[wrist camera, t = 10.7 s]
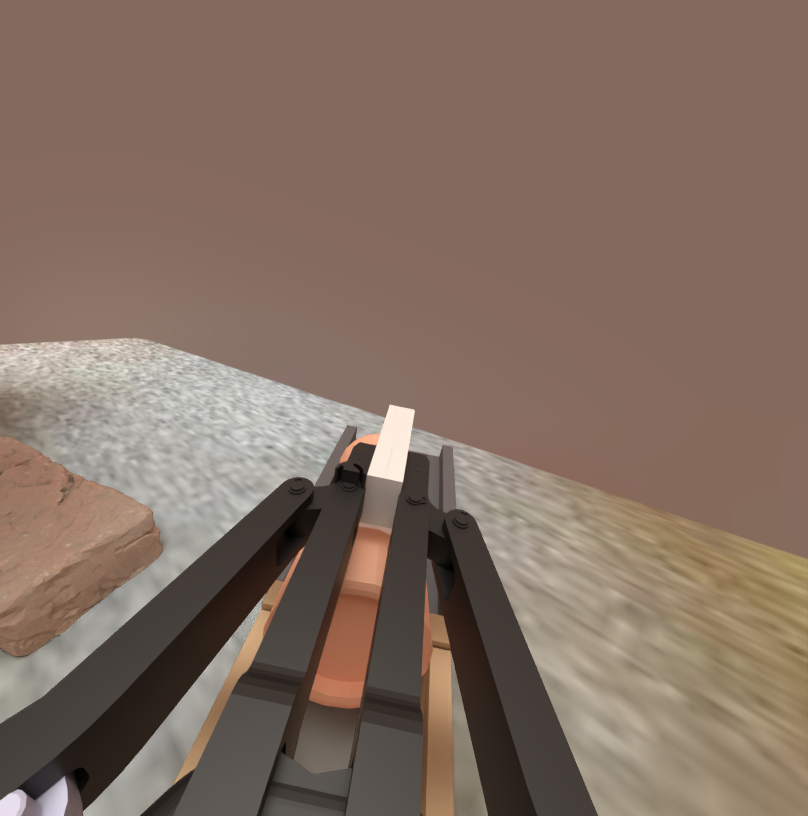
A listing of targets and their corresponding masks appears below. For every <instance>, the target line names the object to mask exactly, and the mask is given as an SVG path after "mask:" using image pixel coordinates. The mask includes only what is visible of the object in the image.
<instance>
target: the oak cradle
mask: <svg viewBox="0 0 808 816" xmlns="http://www.w3.org/2000/svg"><path fill="white" fill-rule="evenodd" d="M283 583H284V581H279V580H276V581H275V582H274V583H273V584H272V586H271V587H270V588H269V590H268V592H267V594H266V596H265V598H264V600H263V602H262V610H261V611H260V613H259V615H258V617H257V619H256V621H255V623H254V625H253V627H252V629H251V631H250V633H249V635H248V637H247V639H246V641H245V643H244V645H243V647H242V649H241V651H240V653H239V655H238V657H237V659H236V661H235V663H234V665H233V667H232V669H231V671H230V673H229V675H228V677H227V679H226V681H225V683H224V685H223V687H222V689H221V691H220V693H219V695H218V697H217V699H216V701H215V703H214V705H213V707H212V709H211V711H210V713H209V715H208V717H207V719H206V721H205V723H204V725H203V727H202V728H201V730H200V732H199V734H198V736H197V738H196V740H195V742H194V744H193V746H192V748H191V750H190V752H189V754H188V756H187V758H186V760H185V762H184V764H183V766H182V768H181V770H180V772H179V774H178V776H177V778H176V780H175V782H174V784H175V783H176V782H177V781H178V780H180V779H181V778H182V777H184V776H185V775H186V774H187V773H189V772H190V771H191V770H193V769H195V768H196V766H197V764H198V762H199V760H200V758H201V756H202V753H203V751H204V749H205V747H206V745H207V743H208V741H209V739H210V736H211V734H212V732H213V730H214V728H215V726H216V724H217V722H218V720H219V717H220V715H221V713H222V711H223V709H224V707H225V705H226V703H227V700H228V698H229V696H230V694H231V692H232V690H233V688H234V686H235V684H236V682H237V681H238V680H239V678H240V677H241V675H242V674H244V673H245V672H246V671H247V670H248V669H249V667H250V666H251V664H252V662H253V659H254V657H255V655H256V653H257V651H258V648H259V646H260V644H261V642H262V640H263V630H264V625H265V623H266V621H267V619H268V616H269V614H270V612H271V610H272V607H273V605H274V603H275V601H276V598H277V596H278V594H279V592H280V590H281V587H282V585H283ZM429 614H430V625H431V636H432V647H433V652H432V656H431V659H430V662H429V666H428V669H427V671H426V672H425V674H424V675H423V676H422V679H421V701H420V706H421V711H422V714H423V755H422V782H421V808H420V812H421V813H422V815H423V816H454V783H453V737H452V691H451V651H450V649H451V648H450V643H449V639H448V635H447V630H446V626H445V621H444V617H443V616H441V615H436V614H432V613H429ZM174 784H173V785H174Z"/></svg>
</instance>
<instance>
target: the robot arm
mask: <svg viewBox="0 0 808 816" xmlns="http://www.w3.org/2000/svg"><path fill="white" fill-rule="evenodd" d="M414 411H415V410H413V409H408V408H403V407H397V406H393V405H390V407H389V410H388V413H387V416H386V419H385V422H384V425H383V428H382V431H381V434H380V437H379V440H378V443H377V445H372V444H367V443H362V442H359V443H358V444H356V445H355V446H354V447H353V449H352V451H351V454H350V456H349V458H348V460H347V461H345V462H342V463H340V464H338V465H337V466H336V467H335V476H334V483H333V484H331V485H327V486H314V485H313V483H312V482H311V481H310V480H308V479H306V478H302V477H296V478H291V479H288V480H287V481H285V482H284V483H282V484H281V485H280V486H279V487H278V488H277V489H276V490H275V491H273V492H272V493H271V494H270V495H269V496H268V497H267V498H266V499H264V500H263V501H262V502H261V503H260V504H259V505H258V506H257V507H255V508H254V509H253V510H252V511H251V512H250V513H249V514H248V515H246V516H245V517H244V518H243V519H242V520H241V521H240V522H239V523H238V524H236V525H235V526H234V527H233V528H232V529H231V530H230V531H229V532H227V533H226V534H225V535H224V536H223V537H222V538H221V539H220V540H218V541H217V542H216V543H215V544H214V545H213V546H212V547H211V548H209V549H208V550H207V551H206V552H205V553H204V554H203V555H202V556H201V557H199V558H198V559H197V560H196V561H195V562H194V563H193V564H192V565H190V566H189V567H188V568H187V569H186V570H185V571H184V572H183V573H181V574H180V575H179V576H178V577H177V578H176V579H175V580H174V581H172V582H171V583H170V584H169V585H168V586H167V587H166V588H165V589H163V590H162V591H161V592H160V593H159V594H158V595H157V596H156V597H155V598H153V599H152V600H151V601H150V602H149V603H148V604H147V605H146V606H144V607H143V608H142V609H141V610H140V611H139V612H138V613H137V614H135V615H134V616H133V617H132V618H131V619H130V620H129V621H128V622H126V623H125V624H124V625H123V626H122V627H121V628H120V629H119V630H117V631H116V632H115V633H114V634H113V635H112V636H111V637H110V638H109V639H107V640H106V641H105V642H104V643H103V644H102V645H101V646H100V647H98V648H97V649H96V650H95V651H94V652H93V653H92V654H91V655H89V656H88V657H87V658H86V659H85V660H84V661H83V662H82V663H80V664H79V665H78V666H77V667H76V668H75V669H74V670H73V671H72V672H70V673H69V674H68V675H67V676H66V677H65V678H64V679H63V680H61V681H60V682H59V683H58V684H57V685H56V686H55V687H54V688H52V689H51V690H50V691H49V692H48V693H47V694H46V695H45V696H43V697H42V698H40V699H39V700H37V701H36V702H34V703H32V704H31V705H29V706H28V707H26V708H24V709H23V710H21V711H20V712H18V713H17V714H15V715H13V716H12V717H10V718H9V719H7V720H6V721H4V722H2V723H1V724H0V816H83V811H84V810H85V809H86V808H87V807H88V806H89V805H90V804H91V803H93V802H94V800H95V799H96V798H97V797H98V796H99V795H100V794H101V793H102V792H103V791H104V790H105V789H106V788H107V787H108V786H109V785H110V784H111V783H112V782H113V781H114V780H115V779H116V778H117V777H118V776H119V774H120V773H121V772H122V771H123V770H124V769H125V768H126V766H127V765H128V764H129V763H130V762H131V761H132V759H133V758H134V757H135V756H136V755H137V753H138V752H139V751H140V750H141V749H142V748H143V746H144V745H145V744H146V743H147V741H148V740H149V739H150V738H151V736H152V735H153V734H154V733H155V731H156V730H157V729H158V728H159V726H160V725H161V724H162V723H163V721H164V720H165V719H166V718H167V716H168V715H169V714H170V713H171V711H172V710H173V709H174V708H175V706H176V705H177V704H178V703H179V701H180V700H181V699H182V697H183V696H184V695H185V694H186V692H187V691H188V690H189V689H190V687H191V686H192V685H193V684H194V682H195V681H196V680H197V679H198V677H199V676H200V675H201V674H202V672H203V671H204V670H205V669H206V667H207V666H208V665H209V664H210V662H211V661H212V660H213V659H214V657H215V656H216V655H217V654H218V652H219V651H220V650H221V648H222V647H223V646H224V645H225V643H226V642H227V641H228V640H229V638H230V637H231V636H232V635H233V633H234V632H235V631H236V630H237V628H238V627H239V626H240V625H241V623H242V622H243V621H244V620H245V618H246V617H247V616H248V615H249V613H250V612H251V611H252V610H253V608H254V607H255V606H256V605H257V603H258V602H259V601H260V600H261V598H262V597H263V596H264V594H265V593H266V592H267V591H268V589H269V588H270V587H271V586H272V584H273V583H274V582H275V581H276V579H277V578H278V577H279V576H280V574H281V573H282V572H283V571H284V569H285V568H286V567H287V566H288V564H289V563H290V562H291V561H292V559H293V558H294V557H295V556H296V554H297V553H298V552H299V551H300V549H301V548H302V547H303V546H304V544H305V543H306V542H307V543H306V545H305V547H304V550H303V552H302V554H301V556H300V558H299V561H298V563H297V565H296V567H295V569H294V572H293V574H292V576H291V578H290V580H289V583H288V585H287V587H286V589H285V591H284V594H283V596H282V598H281V600H280V602H279V605H278V607H277V609H276V611H275V613H274V616H273V618H272V620H271V622H270V624H269V626H268V629H267V631H266V633H265V635H264V637H263V640H262V642H261V644H260V646H259V648H258V651H257V653H256V655H255V657H254V659H253V662H252V664H251V666H250V667H249V669H248V670H247V671H246V672H245V673H244V674H242V675H241V677H240V678H239V680H238V681H237V682H236V684H235V686H234V688H233V690H232V692H231V694H230V696H229V698H228V700H227V703H226V705H225V707H224V709H223V711H222V713H221V715H220V717H219V720H218V722H217V724H216V726H215V728H214V730H213V732H212V734H211V736H210V739H209V741H208V743H207V745H206V747H205V749H204V751H203V753H202V756H201V758H200V760H199V762H198V764H197V766H196V768H195V769H193V770H191V771H190V772H189V773H187V774H186V775H185V776H184V777H182V778H181V779H180V780H178V781H177V782H176V783H175V784H174V785H173V786H172V787H170V788H169V789H168V790H167V791H166V792H165V793H164V794H163V795H162V796H161V797H160V798H159V799H157V800H156V801H155V802H154V803H153V804H152V805H151V806H150V807H149V808H148V809H147V810H146V811H145V812H143V813H142V814H141V815H140V816H423V815H422V813H421V812H420V808H421V782H422V755H423V714H422V711H421V706H420V697H421V676H422V655H423V634H424V613H425V592H426V571H427V558H428V559H429V560H431V562H432V568H433V573H434V577H435V581H436V586H437V590H438V595H439V599H440V604H441V608H442V612H443V617H444V621H445V626H446V630H447V635H448V639H449V643H450V648H451V652H452V657H453V661H454V665H455V670H456V674H457V679H458V683H459V688H460V692H461V696H462V701H463V705H464V710H465V714H466V719H467V723H468V727H469V732H470V736H471V741H472V745H473V750H474V754H475V758H476V763H477V767H478V772H479V776H480V780H481V785H482V789H483V794H484V798H485V803H486V807H487V811H488V816H598V815H597V812H596V810H595V807H594V805H593V803H592V800H591V798H590V795H589V793H588V790H587V788H586V786H585V783H584V781H583V778H582V776H581V774H580V771H579V769H578V766H577V764H576V761H575V759H574V757H573V754H572V752H571V749H570V747H569V745H568V742H567V740H566V737H565V735H564V733H563V730H562V728H561V725H560V723H559V720H558V718H557V716H556V713H555V711H554V708H553V706H552V704H551V701H550V699H549V696H548V694H547V691H546V689H545V687H544V684H543V682H542V679H541V677H540V675H539V672H538V670H537V667H536V665H535V663H534V660H533V658H532V655H531V653H530V650H529V648H528V646H527V643H526V641H525V638H524V636H523V634H522V631H521V629H520V626H519V624H518V621H517V619H516V617H515V614H514V612H513V609H512V607H511V605H510V602H509V600H508V597H507V595H506V593H505V590H504V588H503V585H502V583H501V580H500V578H499V576H498V573H497V571H496V568H495V566H494V564H493V561H492V559H491V556H490V554H489V551H488V549H487V547H486V544H485V542H484V539H483V537H482V535H481V532H480V530H479V527H478V525H477V523H476V521H475V519H474V518H473V517H472V516H471V515H470V514H469V513H467V512H465V511H463V510H458V509H454V510H450V511H449V512H447V513H445V512H443V511H441V510H439V509H437V508H436V507H435V506H434V505H432V503H431V502H430V500H429V498H428V486H429V467H430V461H429V459H428V458H427V456H426V455H424V454H419V453H414V452H409V451H408V448H409V442H410V436H411V430H412V424H413V417H414ZM359 522H362V523H367V524H371V525H376V526H381V527H386V528H390V529H392V532H391V536H390V541H389V545H388V550H387V551H388V552H387V558H386V563H385V569H384V575H383V580H382V586H381V591H380V597H379V602H378V608H377V614H376V619H375V625H374V630H373V636H372V641H371V647H370V652H369V658H368V664H367V669H366V675H365V680H364V686H363V691H362V697H361V703H360V708H359V714H358V719H357V725H356V730H355V736H354V741H353V746H352V751H351V756H350V761H349V766H348V769H344V770H338V771H332V772H326V773H320V774H313V773H311V772H309V771H308V770H306V769H305V768H303V767H302V766H300V765H299V764H298V763H296V762H295V761H293V758H294V754H295V750H296V746H297V742H298V737H299V733H300V729H301V725H302V721H303V718H304V714H305V711H306V707H307V704H308V700H309V697H310V694H311V690H312V687H313V683H314V680H315V676H316V673H317V670H318V666H319V663H320V659H321V656H322V652H323V649H324V645H325V642H326V639H327V635H328V632H329V628H330V625H331V621H332V618H333V615H334V611H335V608H336V604H337V601H338V597H339V594H340V591H341V587H342V584H343V580H344V577H345V573H346V570H347V567H348V563H349V560H350V556H351V553H352V549H353V546H354V543H355V539H356V536H357V532H358V526H359ZM307 540H308V541H307Z"/></svg>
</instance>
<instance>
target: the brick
mask: <svg viewBox="0 0 808 816" xmlns="http://www.w3.org/2000/svg"><path fill="white" fill-rule="evenodd" d="M159 539H160V530H159V529H158V528H157V527H156V526H155V522H154V519H153V511H152V510H151V509H150V508H148V507H146V506H144V505H142V504H140V503H139V502H137V501H135V500H134V499H133V498H130V497H128V496H126V495H125V494H123V493H121V492H119V491H117V490H115V489H112V488H110V487H106V486H102V485H99V484H98V483H96V482H93V481H89V480H85V479H84V478H83V477H81V476H79V475H76V474H73V473H71V472H69V471H68V470H67V469H65V468H64V467H63V466H62V465H61V464H57V463H56V462H55V463H53V462H52V461H51V460H50V459H49V458H48V457H45V456H43V455H42V454H41V453H39V452H38V451H36V450H34V449H33V448H31V447H29V446H27V445H25V444H23V443H21V442H19V441H17V440H15V439H14V438H12V437H10V436H0V648H1V649H2V650H4V651H5V652H7V653H9V654H11V655H13V656H25V655H29V654H31V653H32V652H34V651H36V650H37V649H39V648H40V647H42V646H44V645H45V644H47V643H48V642H49V641H50V640H51V639H52V638H54V637H56V636H58V635H60V634H62V633H63V632H65V631H66V630H67V629H68V628H70V626H71V625H72V624H73V623H74V622H75V621H76V620H78V619H79V617H80V616H81V615H83V614H84V613H86V612H87V611H88V610H89V609H90V608H91V607H92V606H94V605H95V604H97V603H98V602H99V601H100V600H102V599H104V598H105V597H107V596H108V594H109V593H111V592H112V591H113V590H114V589H116V588H118V587H120V586H122V585H123V584H124V583H125V582H126V581H128V580H129V579H131V578H133V577H135V576H136V575H138V574H139V573H140V572H142V571H143V570H144V569H145V568H146V567H148V566H149V565H150V564H151V563H152V562H153V561H155V560H156V559H157V558H158V557H159V555H160V554H161V552H162V551H163V549H162V544H161V543H160V542H159Z"/></svg>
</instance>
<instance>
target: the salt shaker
mask: <svg viewBox="0 0 808 816" xmlns="http://www.w3.org/2000/svg"><path fill="white" fill-rule="evenodd" d="M379 437H380V434H372V435H366V436H364V437H361V438H359V439H357V440H355V441H354V442H353V443H352V444H350V445H349V446H348V447H347V448H346V449H345V451H344V453H343V455H342V456H341V458H340V463H342V462H345V461H347V460H348V458H349V456H350V454H351V451H352V449H353V447H354V446H355V445H356V444H358V443H359V442H362V443H367V444H372V445H377V443H378V440H379ZM408 451H409V450H408ZM391 532H392V529H390V528H386V527H381V526H376V525H371V524H367V523H362V522H359V526H358V532H357V536H356V539H355V543H354V546H353V549H352V553H351V556H350V560H349V563H348V567H347V570H346V573H345V577H344V580H343V584H342V587H341V591H340V594H339V597H338V601H337V604H336V608H335V611H334V615H333V618H332V621H331V625H330V628H329V632H328V635H327V639H326V642H325V645H324V649H323V652H322V656H321V659H320V663H319V666H318V670H317V673H316V676H315V680H314V683H313V687H312V690H311V694H310V697H309V700H311V701H313V702H316V703H319V704H321V705H324V706H332V707H340V708H347V709H351V708H360V703H361V697H362V691H363V686H364V680H365V675H366V669H367V664H368V658H369V652H370V647H371V641H372V636H373V630H374V625H375V619H376V614H377V608H378V602H379V597H380V591H381V586H382V580H383V575H384V569H385V563H386V558H387V552H388V551H387V550H388V545H389V541H390V536H391ZM303 550H304V548H302V549H301V550H300V551H299V553H298V555H297V556H296V558H295V560H294V562H293V564H292V565H291V567H290V569H289V572H288V574H287V576H286V578H285V581H284V583H283V585H282V587H281V590H280V592H279V594H278V596H277V598H276V601H275V603H274V605H273V607H272V610H271V612H270V614H269V616H268V619H267V621H266V623H265V625H264V630H263V637H264V635H265V633H266V631H267V629H268V626H269V624H270V622H271V620H272V618H273V616H274V613H275V611H276V609H277V607H278V605H279V602H280V600H281V598H282V596H283V594H284V591H285V589H286V587H287V585H288V583H289V580H290V578H291V576H292V574H293V572H294V569H295V567H296V565H297V563H298V561H299V558H300V556H301V554H302V552H303ZM432 652H433V647H432V636H431V625H430V614H429V603H428V592H427V583H426V592H425V613H424V634H423V655H422V676H423V675H424V674H425V672H426V671H427V669H428V666H429V662H430V659H431V656H432ZM422 676H421V677H422Z"/></svg>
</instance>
